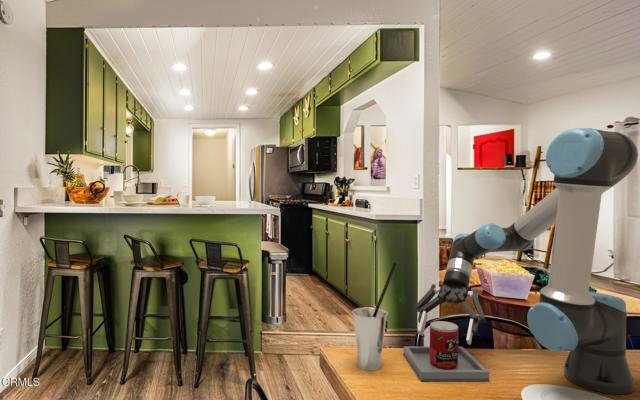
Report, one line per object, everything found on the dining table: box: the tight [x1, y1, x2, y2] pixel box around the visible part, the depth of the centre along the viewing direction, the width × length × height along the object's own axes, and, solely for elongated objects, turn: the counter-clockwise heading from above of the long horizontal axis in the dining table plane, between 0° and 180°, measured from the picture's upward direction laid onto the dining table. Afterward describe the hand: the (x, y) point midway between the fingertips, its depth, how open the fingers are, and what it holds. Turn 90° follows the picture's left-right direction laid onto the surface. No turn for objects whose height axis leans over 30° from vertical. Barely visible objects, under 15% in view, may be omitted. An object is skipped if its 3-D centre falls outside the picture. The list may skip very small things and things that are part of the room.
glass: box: [351, 262, 397, 372], centre depth 112 cm, size 11×11×30 cm
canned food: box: [429, 320, 459, 369], centre depth 113 cm, size 8×8×11 cm
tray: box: [403, 345, 490, 383], centre depth 113 cm, size 18×18×2 cm
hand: (443, 337), depth 114 cm, fingers open, 13 cm apart
